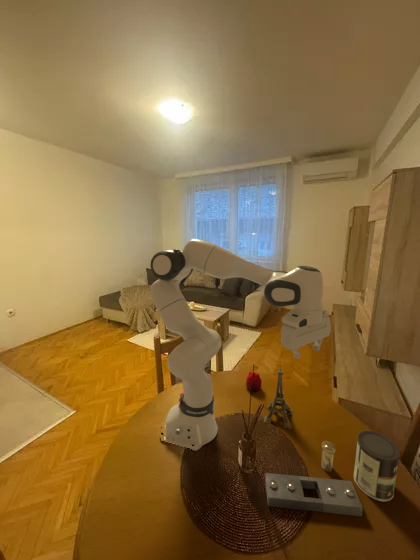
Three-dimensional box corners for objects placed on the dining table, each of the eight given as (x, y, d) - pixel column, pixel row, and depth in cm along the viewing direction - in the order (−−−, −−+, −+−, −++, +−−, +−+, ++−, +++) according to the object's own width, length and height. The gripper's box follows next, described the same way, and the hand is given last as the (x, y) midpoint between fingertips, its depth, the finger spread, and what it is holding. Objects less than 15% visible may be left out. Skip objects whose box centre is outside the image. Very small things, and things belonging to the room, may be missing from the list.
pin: (322, 472, 76) (324, 451, 75) (318, 460, 80) (319, 440, 78) (335, 473, 76) (337, 452, 74) (330, 461, 79) (332, 441, 78)
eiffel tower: (291, 429, 93) (293, 371, 88) (263, 422, 97) (265, 366, 92) (292, 410, 103) (295, 357, 98) (267, 404, 106) (269, 353, 102)
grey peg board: (268, 505, 67) (268, 495, 66) (265, 480, 74) (265, 471, 73) (361, 516, 64) (363, 505, 63) (349, 489, 71) (351, 479, 70)
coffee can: (391, 477, 74) (397, 438, 71) (395, 509, 65) (402, 467, 63) (353, 461, 79) (357, 425, 77) (352, 489, 71) (357, 449, 68)
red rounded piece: (262, 386, 119) (262, 358, 116) (260, 394, 113) (260, 366, 110) (247, 383, 122) (247, 356, 119) (244, 391, 116) (244, 363, 113)
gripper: (320, 306, 86) (319, 342, 88) (277, 318, 76) (278, 358, 79) (336, 311, 80) (334, 349, 83) (292, 324, 71) (292, 367, 74)
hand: (306, 353), depth 81 cm, fingers open, 8 cm apart
